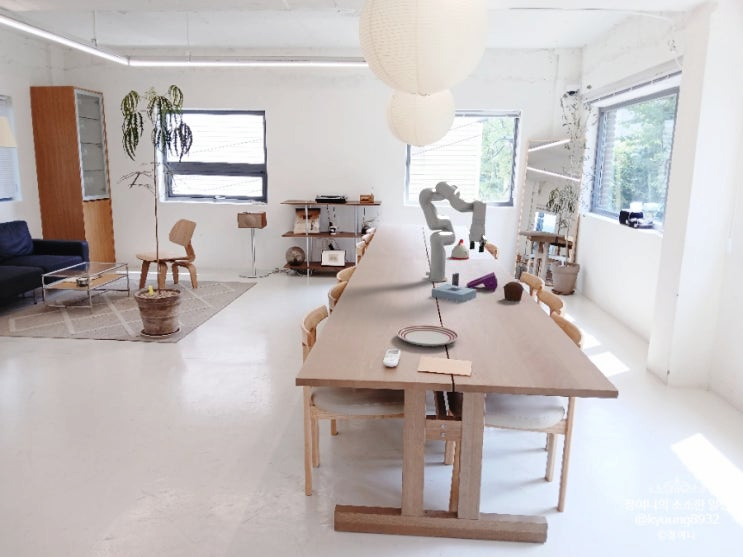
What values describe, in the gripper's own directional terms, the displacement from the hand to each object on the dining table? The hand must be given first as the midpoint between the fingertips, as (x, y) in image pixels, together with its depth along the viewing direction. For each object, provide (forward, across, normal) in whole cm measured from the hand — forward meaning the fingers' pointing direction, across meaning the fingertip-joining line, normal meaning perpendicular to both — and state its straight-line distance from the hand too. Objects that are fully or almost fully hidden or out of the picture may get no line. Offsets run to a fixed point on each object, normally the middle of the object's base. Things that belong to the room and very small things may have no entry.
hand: (476, 250), depth 328 cm
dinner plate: (+24, +68, -69) cm, 100 cm away
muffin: (+24, +25, +10) cm, 36 cm away
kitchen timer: (+26, -91, +47) cm, 106 cm away
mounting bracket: (+25, -4, +8) cm, 26 cm away
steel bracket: (+24, -5, -10) cm, 27 cm away
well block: (+24, +9, -20) cm, 32 cm away
